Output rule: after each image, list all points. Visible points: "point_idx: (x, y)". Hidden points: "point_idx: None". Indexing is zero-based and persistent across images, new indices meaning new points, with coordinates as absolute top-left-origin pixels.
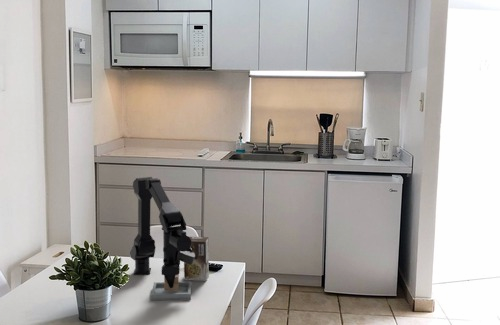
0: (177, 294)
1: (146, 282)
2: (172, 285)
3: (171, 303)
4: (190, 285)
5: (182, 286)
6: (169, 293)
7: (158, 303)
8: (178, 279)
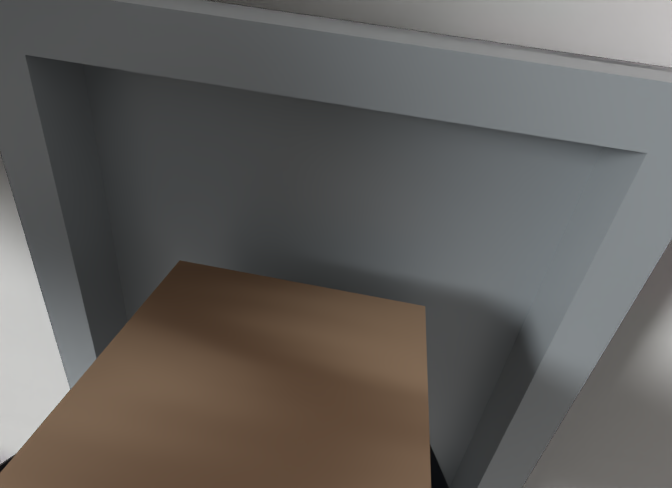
0: (606, 340)
1: (5, 444)
2: (436, 474)
3: (662, 364)
4: (190, 25)
5: (106, 156)
6: (522, 432)
7: (579, 466)
8: (244, 409)
